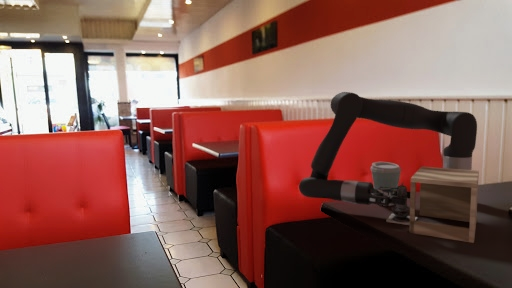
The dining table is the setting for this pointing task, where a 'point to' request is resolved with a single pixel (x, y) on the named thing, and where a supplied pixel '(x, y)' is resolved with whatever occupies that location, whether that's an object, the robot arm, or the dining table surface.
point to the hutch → (445, 202)
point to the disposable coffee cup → (385, 175)
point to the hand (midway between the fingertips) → (408, 198)
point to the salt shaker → (401, 206)
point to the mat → (398, 222)
